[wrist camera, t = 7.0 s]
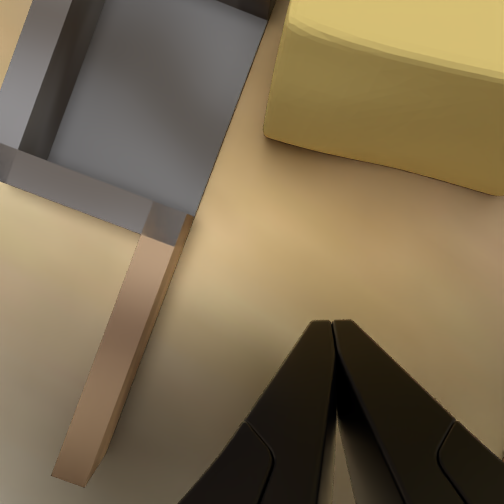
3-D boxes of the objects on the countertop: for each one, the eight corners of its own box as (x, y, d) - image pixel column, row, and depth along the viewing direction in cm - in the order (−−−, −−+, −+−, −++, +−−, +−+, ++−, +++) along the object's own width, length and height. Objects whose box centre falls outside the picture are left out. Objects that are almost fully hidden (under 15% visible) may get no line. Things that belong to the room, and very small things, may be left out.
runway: (616, 637, 19) (716, 744, 15) (-69, 390, 18) (-156, 434, 14) (822, 133, 19) (982, 104, 15) (128, -147, 18) (94, -259, 14)
